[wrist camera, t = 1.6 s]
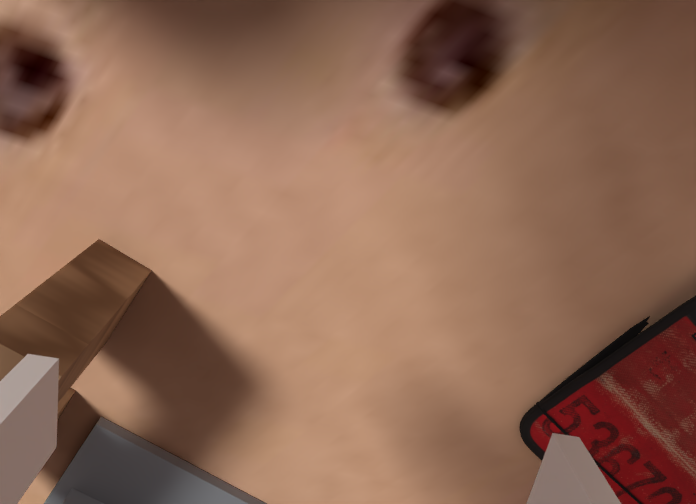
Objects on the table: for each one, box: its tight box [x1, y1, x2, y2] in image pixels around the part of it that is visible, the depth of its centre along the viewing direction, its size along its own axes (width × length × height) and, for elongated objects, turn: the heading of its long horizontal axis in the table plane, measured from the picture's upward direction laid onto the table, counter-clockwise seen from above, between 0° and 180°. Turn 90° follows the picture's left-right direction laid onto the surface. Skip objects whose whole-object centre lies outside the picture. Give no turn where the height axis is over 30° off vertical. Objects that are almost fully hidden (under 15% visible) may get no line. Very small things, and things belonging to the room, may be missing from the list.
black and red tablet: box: [520, 296, 696, 504], centre depth 39 cm, size 16×2×21 cm
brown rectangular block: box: [0, 240, 151, 420], centre depth 31 cm, size 4×16×12 cm, turn 145°
